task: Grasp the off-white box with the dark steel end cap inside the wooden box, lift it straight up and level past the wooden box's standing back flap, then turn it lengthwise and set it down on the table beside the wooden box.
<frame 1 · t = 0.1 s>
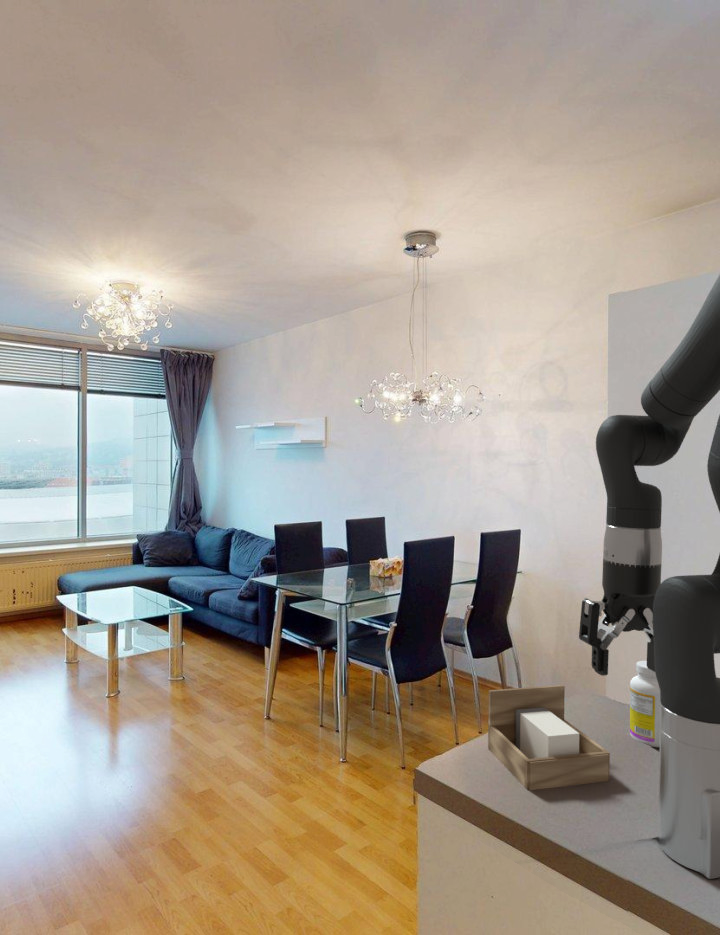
hand: (627, 671, 88), 17 cm above the kitchen counter, tool pointing down, fingers open, 8 cm apart
capped box: (545, 763, 95), point 1 cm above the kitchen counter, touching wooden box
supplement bottle: (650, 741, 105), on the kitchen counter
wooden box: (545, 767, 95), on the kitchen counter
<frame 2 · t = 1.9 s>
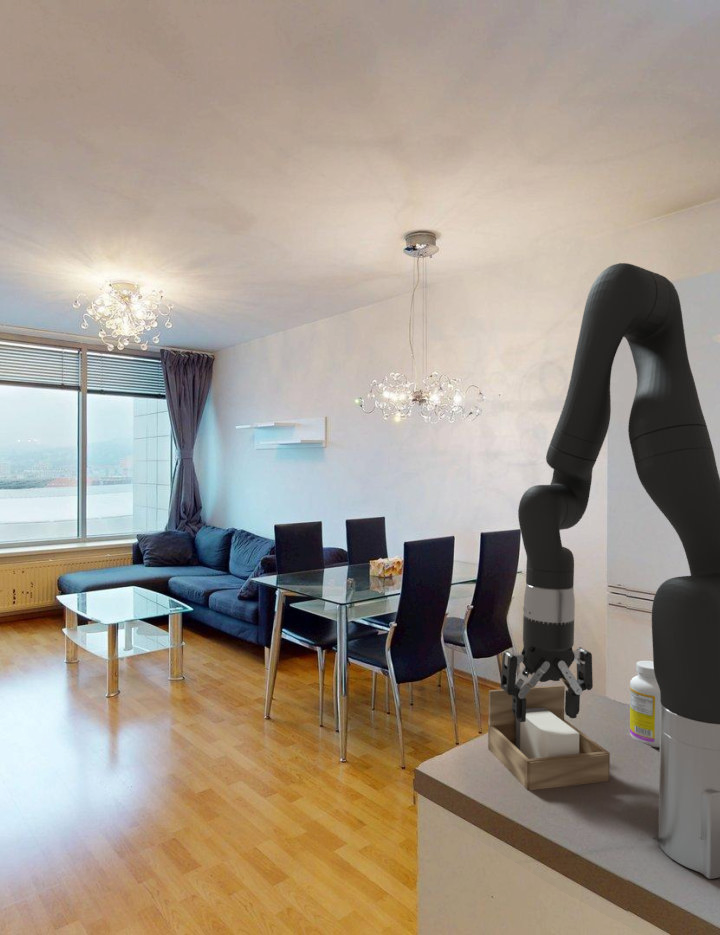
hand: (545, 718, 96), 7 cm above the kitchen counter, tool pointing down, fingers open, 8 cm apart
nothing on the kitchen counter moved.
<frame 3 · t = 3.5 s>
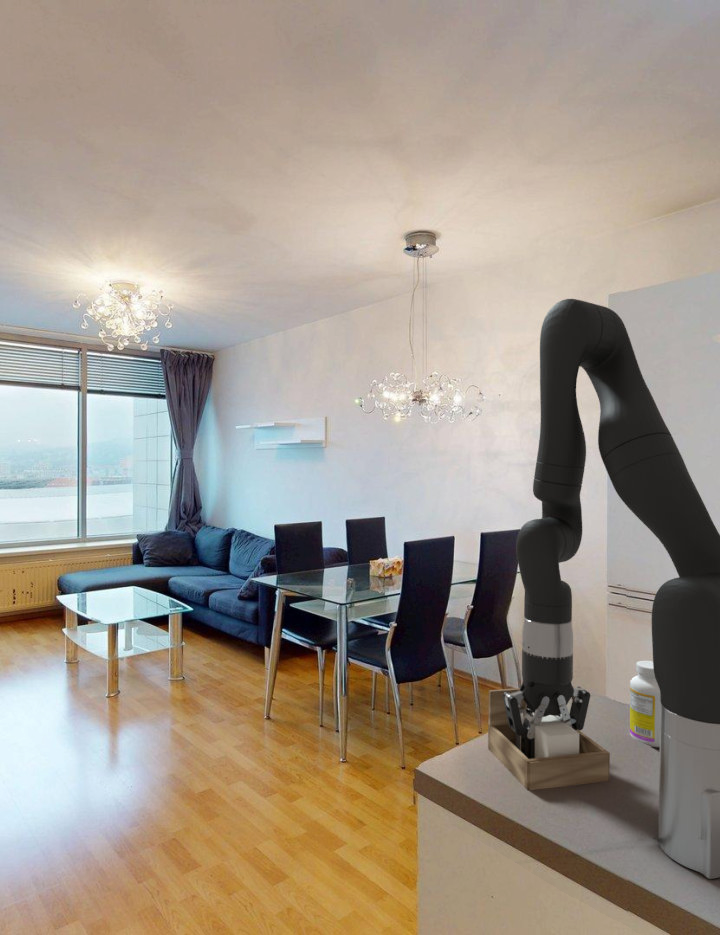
hand: (545, 758, 95), 1 cm above the kitchen counter, tool pointing down, fingers closed on capped box, 5 cm apart
capped box: (545, 763, 95), point 1 cm above the kitchen counter, touching wooden box, gripper
everything else where it was.
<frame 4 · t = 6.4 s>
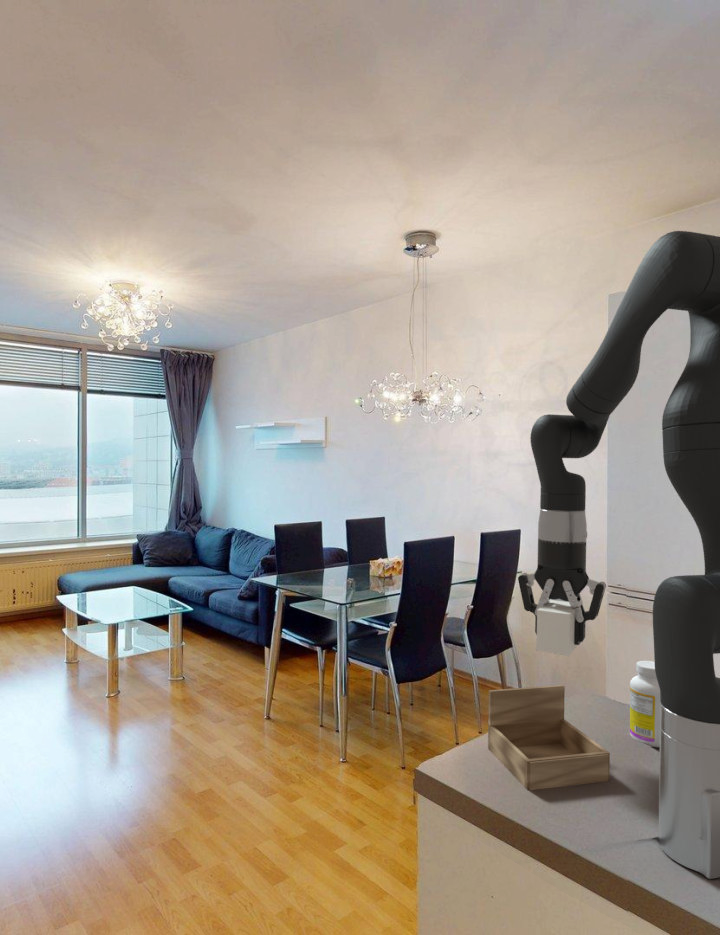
hand: (559, 640, 102), 18 cm above the kitchen counter, tool pointing down, fingers closed on capped box, 5 cm apart
capped box: (559, 645, 102), point 17 cm above the kitchen counter, touching gripper
everything else where it was.
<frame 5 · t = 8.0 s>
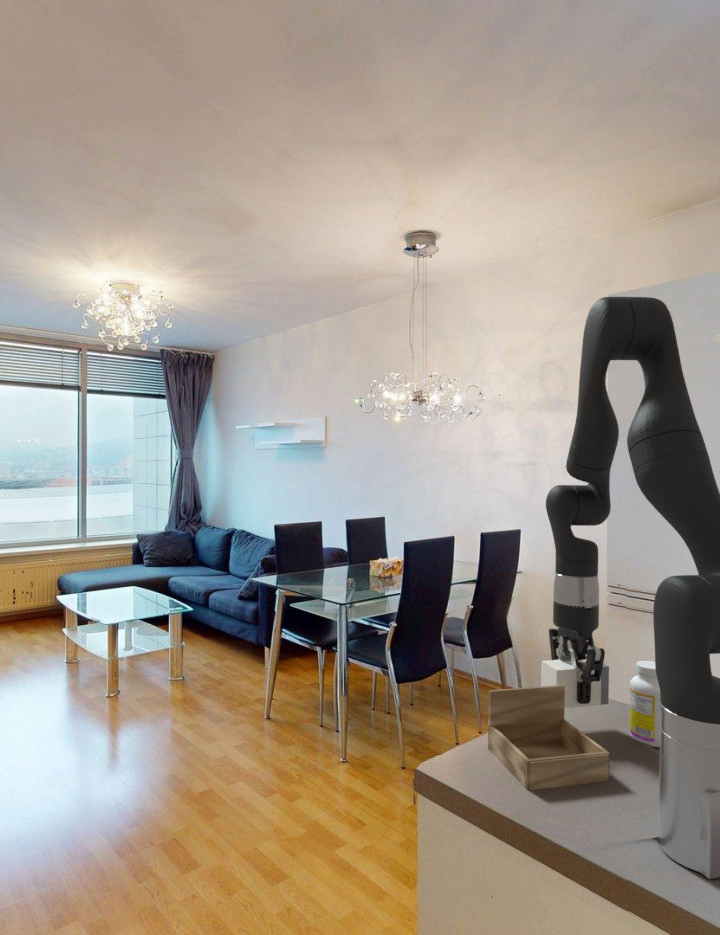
hand: (574, 696, 108), 6 cm above the kitchen counter, tool pointing down, fingers closed on capped box, 5 cm apart
capped box: (574, 700, 108), point 5 cm above the kitchen counter, touching gripper
everything else where it was.
when the fingers open (2 cm above the kitchen counter, at t = 9.2 s): capped box drops 2 cm, on the kitchen counter.
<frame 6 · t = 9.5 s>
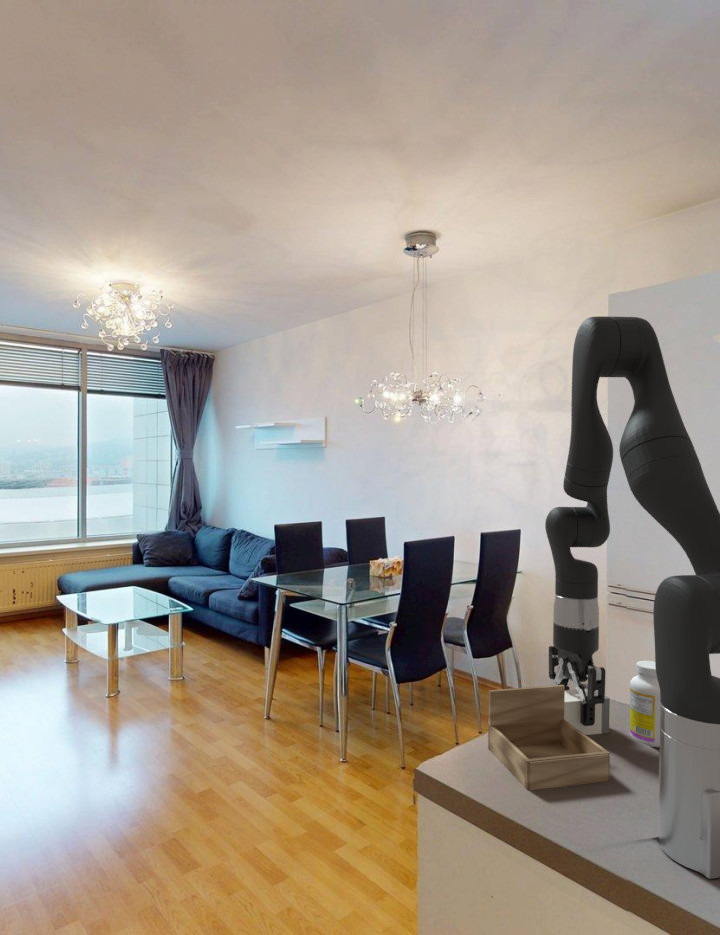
hand: (574, 715, 108), 3 cm above the kitchen counter, tool pointing down, fingers open, 7 cm apart
capped box: (574, 732, 108), on the kitchen counter
everything else where it was.
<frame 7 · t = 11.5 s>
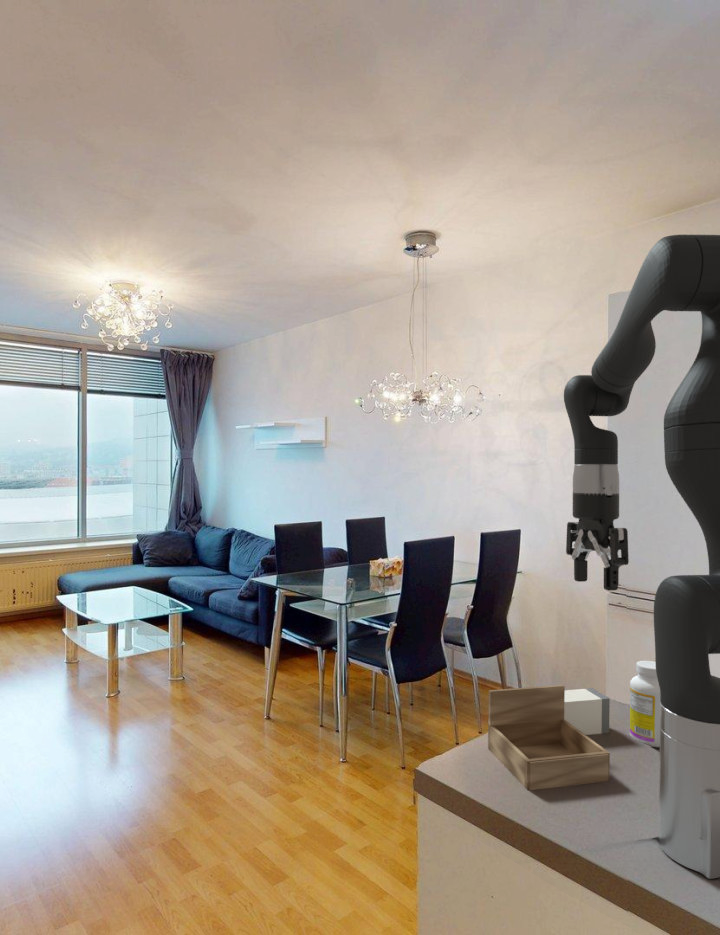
hand: (595, 585, 107), 26 cm above the kitchen counter, tool pointing down, fingers open, 8 cm apart
nothing on the kitchen counter moved.
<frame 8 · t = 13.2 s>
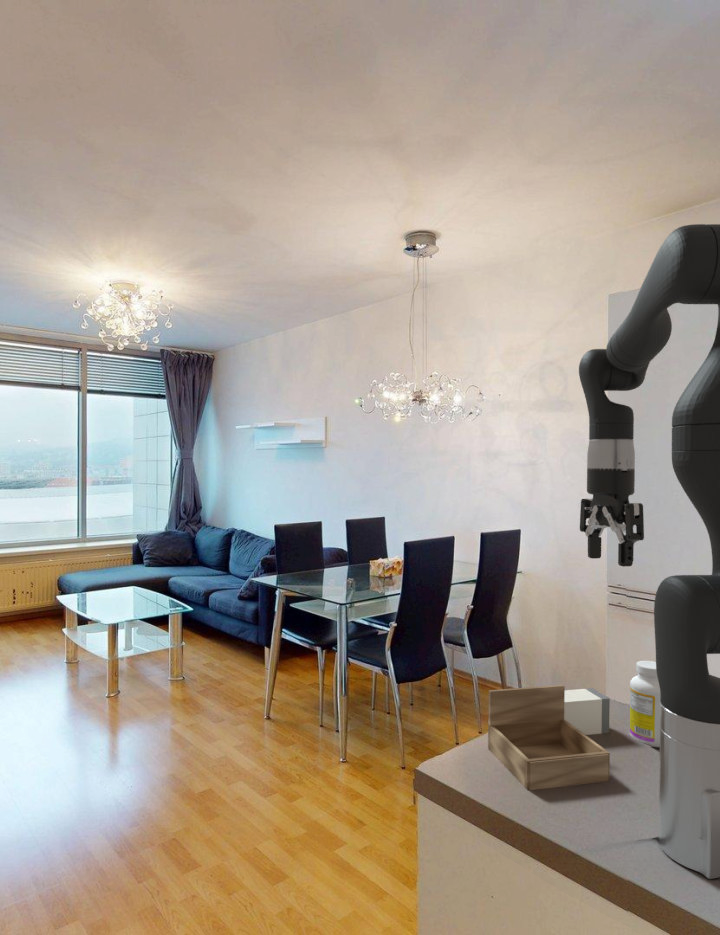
hand: (609, 562, 105), 30 cm above the kitchen counter, tool pointing down, fingers open, 8 cm apart
nothing on the kitchen counter moved.
at the end: capped box inside the target area (0.1 cm from its centre), on the kitchen counter; capped box tilted 0°; capped box touching kitchen counter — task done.
